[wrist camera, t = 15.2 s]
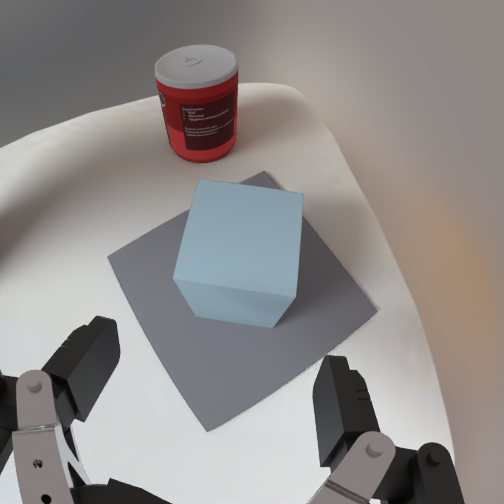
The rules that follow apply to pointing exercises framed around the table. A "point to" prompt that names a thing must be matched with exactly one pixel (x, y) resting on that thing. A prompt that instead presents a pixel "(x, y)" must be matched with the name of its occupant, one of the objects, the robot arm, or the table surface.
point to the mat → (234, 334)
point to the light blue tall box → (240, 253)
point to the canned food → (199, 100)
